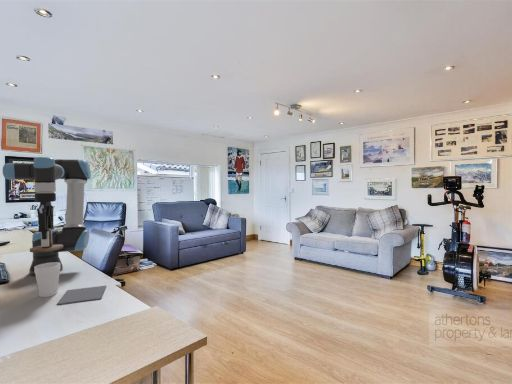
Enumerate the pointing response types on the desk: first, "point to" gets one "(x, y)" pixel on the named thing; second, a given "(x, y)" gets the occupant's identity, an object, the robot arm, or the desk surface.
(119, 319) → the desk surface
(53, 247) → the lid
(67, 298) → the mat
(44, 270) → the foam cup
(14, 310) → the desk surface
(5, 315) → the desk surface
